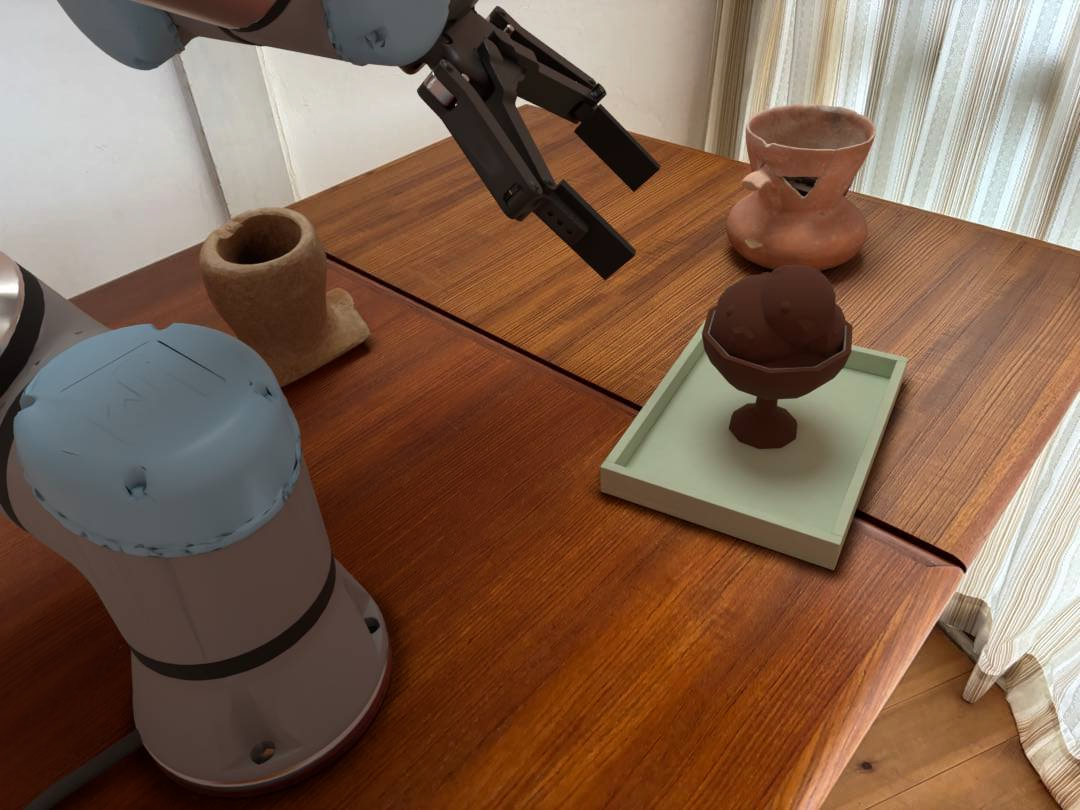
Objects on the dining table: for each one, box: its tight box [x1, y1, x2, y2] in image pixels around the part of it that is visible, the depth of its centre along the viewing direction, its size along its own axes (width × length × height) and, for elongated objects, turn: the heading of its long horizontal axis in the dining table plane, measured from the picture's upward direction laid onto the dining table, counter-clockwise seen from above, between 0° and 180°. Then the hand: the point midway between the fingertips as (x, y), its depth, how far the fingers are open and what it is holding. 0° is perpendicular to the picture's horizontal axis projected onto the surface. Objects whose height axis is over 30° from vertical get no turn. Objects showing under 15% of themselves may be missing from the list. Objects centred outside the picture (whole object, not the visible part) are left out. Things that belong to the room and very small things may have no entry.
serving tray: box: [599, 319, 909, 571], centre depth 68 cm, size 24×18×3 cm
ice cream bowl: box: [702, 264, 854, 449], centre depth 64 cm, size 11×11×15 cm
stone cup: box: [198, 206, 372, 389], centre depth 76 cm, size 15×12×15 cm
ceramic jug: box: [725, 103, 877, 272], centre depth 88 cm, size 18×14×14 cm
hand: (635, 219), depth 60 cm, fingers open, 13 cm apart
